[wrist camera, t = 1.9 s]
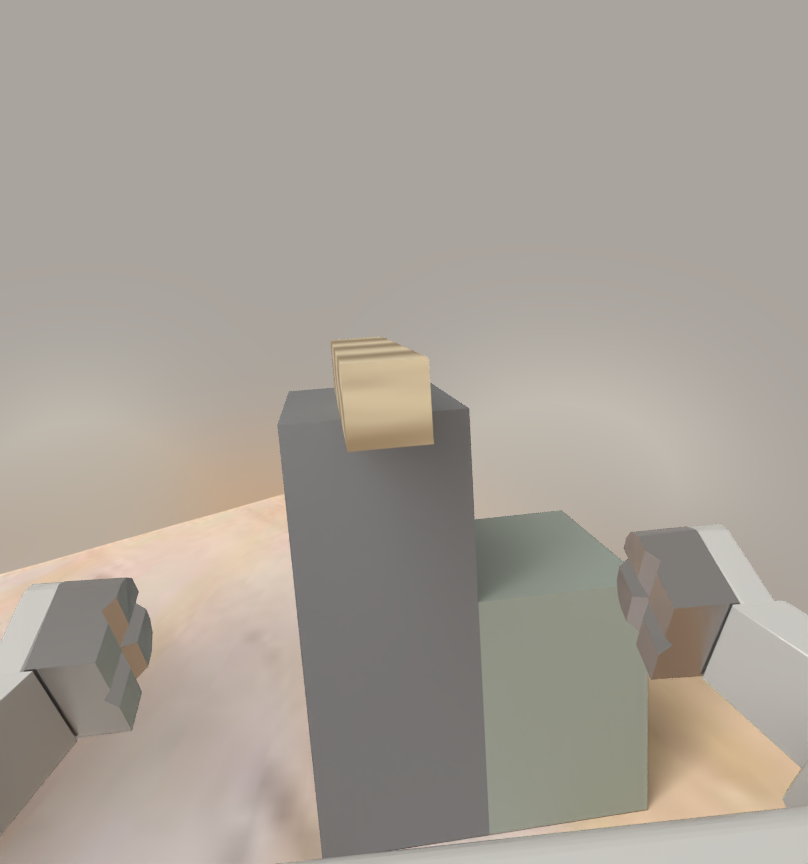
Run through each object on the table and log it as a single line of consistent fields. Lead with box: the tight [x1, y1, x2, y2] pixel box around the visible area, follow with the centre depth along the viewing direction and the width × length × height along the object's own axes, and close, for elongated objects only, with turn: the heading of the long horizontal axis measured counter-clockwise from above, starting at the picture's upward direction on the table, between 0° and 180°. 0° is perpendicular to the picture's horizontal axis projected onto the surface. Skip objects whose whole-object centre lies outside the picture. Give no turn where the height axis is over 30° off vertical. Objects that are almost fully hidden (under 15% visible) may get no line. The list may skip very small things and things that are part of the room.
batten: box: [331, 337, 434, 452], centre depth 36 cm, size 20×4×4 cm, turn 8°
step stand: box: [278, 383, 648, 858], centre depth 45 cm, size 14×20×26 cm
